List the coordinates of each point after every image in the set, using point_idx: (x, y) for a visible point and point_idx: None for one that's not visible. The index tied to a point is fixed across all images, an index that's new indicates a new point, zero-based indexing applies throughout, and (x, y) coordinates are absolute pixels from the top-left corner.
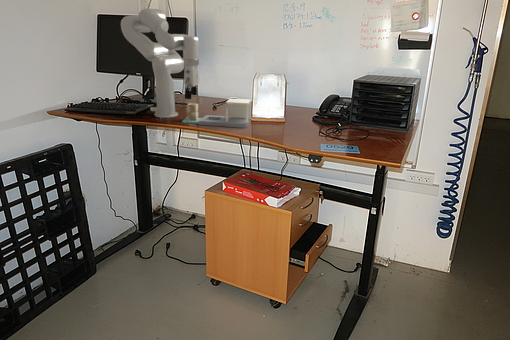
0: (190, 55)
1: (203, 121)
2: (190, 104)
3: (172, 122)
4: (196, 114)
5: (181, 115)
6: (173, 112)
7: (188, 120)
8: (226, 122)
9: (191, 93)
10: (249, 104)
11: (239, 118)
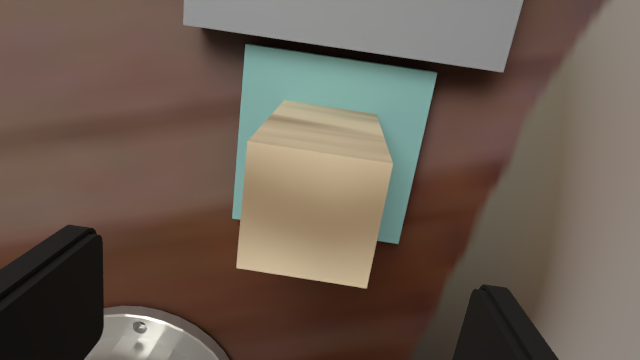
0: None
1: (520, 9)
2: (337, 245)
3: (381, 309)
4: (354, 123)
5: (112, 277)
6: (153, 355)
7: None
8: None
9: (88, 341)
10: None
11: None
